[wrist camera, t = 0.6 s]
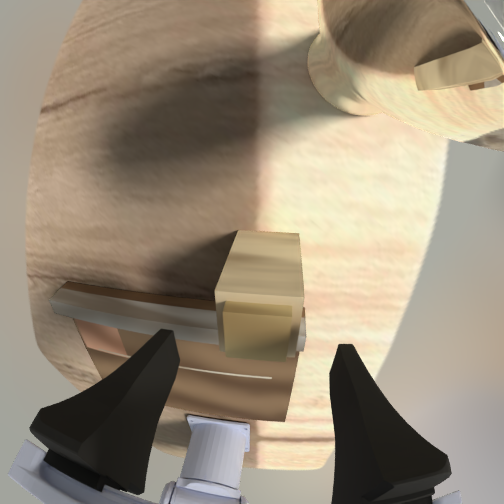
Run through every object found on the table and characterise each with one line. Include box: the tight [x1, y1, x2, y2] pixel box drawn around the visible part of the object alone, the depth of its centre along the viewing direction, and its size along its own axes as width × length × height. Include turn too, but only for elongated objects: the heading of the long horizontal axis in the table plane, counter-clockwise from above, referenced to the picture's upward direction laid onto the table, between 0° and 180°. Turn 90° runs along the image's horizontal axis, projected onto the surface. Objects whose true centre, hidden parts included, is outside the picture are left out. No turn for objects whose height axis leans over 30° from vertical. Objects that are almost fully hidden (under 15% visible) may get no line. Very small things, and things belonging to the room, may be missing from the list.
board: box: [49, 281, 306, 422], centre depth 24 cm, size 16×22×3 cm
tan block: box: [215, 230, 304, 362], centre depth 16 cm, size 4×4×8 cm
